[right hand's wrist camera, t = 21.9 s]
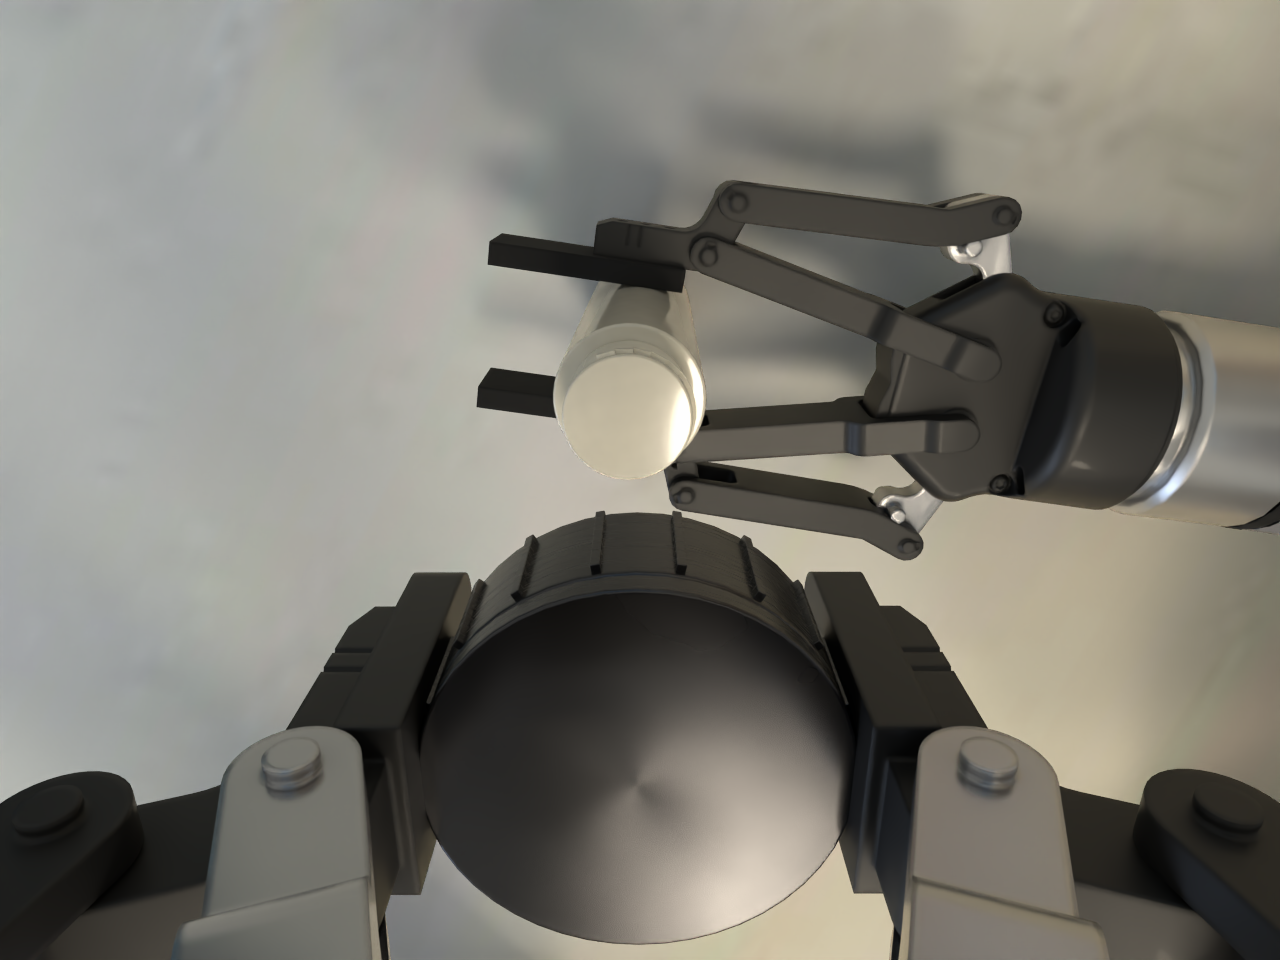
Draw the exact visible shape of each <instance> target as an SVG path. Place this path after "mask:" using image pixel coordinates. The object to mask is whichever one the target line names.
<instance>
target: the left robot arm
mask: <svg viewBox="0 0 1280 960" xmlns="http://www.w3.org/2000/svg"><path fill="white" fill-rule="evenodd" d="M1021 215H1022V210H1021V207H1020V204H1019V203H1018V202H1017V201H1016V200H1015V199H1012V198H1010V197H1004V196H997V195H990V194H984V193H974V194H970V195H966V196H962V197H958V198H953V199H949V200H945V201H941V202H937V203H932V204H928V205H924V204H916V203H908V202H900V201H892V200H884V199H877V198H869V197H861V196H853V195H845V194H837V193H829V192H822V191H814V190H806V189H798V188H790V187H782V186H774V185H766V184H759V183H751V182H743V181H735V180H731V181H725V182H723V183H722V184H720V185H719V186H718V188H717V189H716V191H715V194H714V197H713V199H712V201H711V202H710V204H709V206H708V208H707V210H706V212H705V213H704V215H703V217H702V218H701V220H700V221H699V222H697V223H696V224H695V225H693V226H691V227H687V228H678V227H672V226H665V225H659V224H652V223H645V222H639V221H632V220H626V219H619V218H610V219H606V220H602V221H598V223H597V226H596V234H595V242H594V247H590V246H583V245H577V244H570V243H563V242H557V241H550V240H543V239H537V238H530V237H523V236H517V235H510V234H503V233H502V234H500V235H499V236H497V237H496V238H494V239H492V240H491V241H490V242H489V255H488V265H494V266H501V267H507V268H514V269H521V270H528V271H535V272H541V273H548V274H555V275H562V276H568V277H575V278H582V279H589V280H596V281H602V282H609V283H616V284H623V285H629V286H636V287H643V288H650V289H657V290H663V291H670V292H677V293H682V291H683V285H684V279H685V272H686V270H693V271H699V272H700V273H702V274H704V275H707V276H709V277H712V278H715V279H717V280H720V281H722V282H725V283H728V284H730V285H733V286H735V287H738V288H741V289H743V290H746V291H748V292H751V293H754V294H756V295H759V296H761V297H764V298H767V299H769V300H772V301H774V302H777V303H780V304H782V305H785V306H787V307H790V308H792V309H795V310H798V311H800V312H803V313H805V314H808V315H811V316H813V317H816V318H818V319H821V320H824V321H826V322H829V323H831V324H834V325H837V326H839V327H842V328H844V329H847V330H850V331H852V332H855V333H857V334H860V335H863V336H865V337H867V338H870V339H872V340H874V341H875V342H877V346H876V371H875V373H874V375H873V376H872V378H871V380H870V382H869V384H868V386H867V388H866V390H865V394H864V396H854V397H843V398H838V399H837V400H835V401H833V402H822V403H807V404H792V405H778V406H763V407H748V408H733V409H718V410H705V414H704V418H703V421H702V424H701V426H700V428H699V430H698V432H697V434H696V436H695V437H694V439H693V440H692V442H691V443H690V444H689V445H688V446H687V447H686V449H685V450H683V451H682V453H681V454H680V456H679V457H678V458H677V459H676V460H675V461H674V462H673V463H672V464H671V465H669V466H668V467H667V468H665V469H664V472H665V477H666V482H667V486H668V491H669V498H670V501H671V503H672V505H673V506H674V507H675V508H677V509H679V510H682V511H688V512H694V513H701V514H707V515H713V516H720V517H726V518H732V519H739V520H745V521H751V522H758V523H764V524H771V525H777V526H783V527H790V528H796V529H802V530H809V531H815V532H821V533H828V534H834V535H840V536H847V537H853V538H859V539H863V540H865V541H867V542H869V543H870V544H872V545H874V546H876V547H878V548H880V549H881V550H883V551H885V552H887V553H889V554H891V555H892V556H894V557H896V558H898V559H901V560H911V559H914V558H916V557H917V556H918V555H919V554H920V553H921V551H922V549H923V540H922V538H921V536H920V535H919V532H920V531H921V530H922V528H923V527H924V526H925V524H926V523H927V522H928V520H929V519H930V518H931V517H932V515H933V514H934V513H935V511H936V510H937V509H938V507H939V506H940V505H941V503H942V502H943V501H948V502H953V501H959V500H963V499H965V498H968V497H971V496H975V495H981V494H992V495H997V496H1003V497H1008V498H1013V499H1021V500H1028V501H1035V502H1043V503H1050V504H1057V505H1065V506H1072V507H1079V508H1086V509H1094V510H1096V509H1106V508H1109V509H1111V510H1113V511H1116V512H1119V513H1122V514H1125V515H1134V516H1142V517H1150V518H1159V519H1167V520H1176V521H1184V522H1192V523H1201V524H1209V525H1217V526H1222V527H1226V528H1233V529H1240V530H1242V529H1245V530H1251V531H1258V532H1264V533H1271V534H1277V535H1280V328H1276V327H1270V326H1263V325H1257V324H1251V323H1244V322H1238V321H1231V320H1225V319H1219V318H1212V317H1206V316H1200V315H1193V314H1187V313H1181V312H1173V311H1160V312H1156V313H1155V312H1153V311H1152V310H1150V309H1148V308H1146V307H1142V306H1137V305H1130V304H1123V303H1117V302H1110V301H1103V300H1097V299H1090V298H1083V297H1077V296H1070V295H1063V294H1057V293H1050V292H1044V291H1040V290H1038V289H1036V288H1035V287H1034V286H1032V285H1031V284H1030V283H1029V282H1028V281H1027V280H1026V279H1025V278H1023V277H1021V276H1019V275H1017V274H1013V273H1012V260H1011V246H1010V232H1012V231H1013V230H1014V229H1015V228H1016V227H1017V226H1018V224H1019V222H1020V220H1021ZM745 223H747V224H755V225H763V226H771V227H779V228H787V229H795V230H803V231H811V232H819V233H827V234H835V235H843V236H851V237H859V238H867V239H875V240H883V241H891V242H899V243H907V244H915V245H923V246H937V247H940V250H941V252H942V254H943V256H945V257H946V258H947V259H950V260H952V261H955V262H958V263H960V264H969V265H970V266H971V268H972V269H973V273H974V275H973V276H971V277H969V278H967V279H965V280H963V281H961V282H959V283H957V284H955V285H953V286H951V287H949V288H947V289H945V290H943V291H941V292H938V293H936V294H934V295H932V296H930V297H928V298H926V299H924V300H922V301H920V302H918V303H916V304H914V305H912V306H910V307H908V308H905V307H903V306H900V305H898V304H895V303H893V302H890V301H887V300H885V299H882V298H880V297H877V296H875V295H872V294H868V293H865V292H862V291H860V290H857V289H855V288H852V287H850V286H847V285H844V284H842V283H839V282H837V281H834V280H832V279H829V278H827V277H824V276H822V275H819V274H816V273H814V272H811V271H809V270H806V269H804V268H801V267H799V266H796V265H794V264H791V263H788V262H786V261H783V260H781V259H778V258H776V257H773V256H771V255H768V254H766V253H763V252H760V251H758V250H755V249H753V248H750V247H748V246H745V245H743V244H740V243H738V242H735V240H736V238H737V237H738V235H739V233H740V231H741V230H742V228H743V226H744V224H745ZM685 269H686V270H685ZM555 378H556V377H554V376H547V375H540V374H533V373H525V372H518V371H511V370H504V369H497V368H490V370H489V371H488V373H487V374H486V376H485V377H484V379H483V380H482V382H481V383H480V385H479V386H478V396H477V407H480V408H487V409H494V410H501V411H509V412H516V413H523V414H530V415H538V416H545V417H552V418H556V415H555V411H554V404H553V389H554V382H555ZM832 453H850V454H853V455H857V456H876V455H891V456H892V457H893V458H894V459H895V460H896V461H897V462H898V463H899V464H900V465H901V466H902V467H903V468H904V469H905V470H906V471H907V472H908V473H909V474H910V475H911V476H912V477H913V478H914V479H915V481H914V482H913V483H912V484H911V485H909V486H907V487H904V488H897V487H892V486H881V487H878V488H877V489H876V490H875V493H874V494H872V493H870V492H868V491H866V490H864V489H861V488H858V487H855V486H851V485H846V484H841V483H835V482H829V481H822V480H816V479H810V478H804V477H798V476H791V475H785V474H779V473H773V472H767V471H760V470H754V469H748V468H742V467H736V466H729V465H723V464H717V463H711V462H710V461H726V460H741V459H756V458H771V457H786V456H801V455H816V454H832Z"/></svg>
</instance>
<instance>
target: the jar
mask: <svg viewBox="0 0 1280 960" xmlns="http://www.w3.org/2000/svg"><path fill="white" fill-rule="evenodd" d="M553 404H554V411H555V415H556V418H557V421H558V424H559V426H560V428H561V430H562V432H563V434H564V435H565V437H566V439H567V441H568V444H569V446H570V447H571V449H572V451H573V452H574V453H575V454H576V456H577V457H578V458H579V459H580V460H581V461H582V462H583V463H584V464H585V465H587V466H588V467H589V468H591V469H592V470H594V471H596V472H598V473H600V474H602V475H605V476H608V477H611V478H616V479H624V480H632V479H641V478H645V477H649V476H651V475H654V474H656V473H658V472H660V471H662V470H664V469H665V468H667V467H668V466H669V465H671V464H672V463H673V462H674V461H675V460H676V459H677V458H678V457H679V456H680V454H681V453H682V451H683V450H685V449H686V447H687V446H688V445H689V444H690V443H691V442H692V440H693V439H694V437H695V436H696V434H697V432H698V430H699V428H700V426H701V424H702V421H703V418H704V414H705V409H706V386H705V381H704V376H703V371H702V365H701V360H700V355H699V350H698V344H697V339H696V334H695V329H694V323H693V318H692V313H691V308H690V302H689V298H688V294H687V291H686V288H685V286H684V285H683V291H682V293H677V292H670V291H663V290H657V289H650V288H643V287H636V286H629V285H623V284H616V283H609V282H602V281H599V282H598V284H597V286H596V288H595V290H594V292H593V295H592V297H591V299H590V301H589V303H588V306H587V308H586V310H585V312H584V314H583V316H582V319H581V321H580V323H579V325H578V327H577V330H576V332H575V334H574V336H573V338H572V340H571V343H570V345H569V347H568V349H567V351H566V353H565V356H564V358H563V360H562V362H561V364H560V367H559V369H558V372H557V374H556V378H555V382H554V389H553Z"/></svg>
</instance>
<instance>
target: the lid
mask: <svg viewBox="0 0 1280 960" xmlns="http://www.w3.org/2000/svg"><path fill="white" fill-rule="evenodd" d="M426 704H427V713H426V717H425V720H424V724H423V727H422V730H421V734H420V739H419V758H420V768H421V776H422V785H423V794H424V802H425V810H426V816H427V819H428V822H429V824H430V827H431V829H432V831H433V833H434V835H435V837H436V838H437V840H438V842H439V844H440V846H441V847H442V849H443V851H444V852H445V853H446V855H447V856H448V857H449V859H450V860H451V861H452V863H453V864H454V865H455V866H456V868H457V869H458V870H459V871H460V872H461V873H462V874H463V875H464V876H465V877H466V878H467V879H468V880H469V881H470V882H471V883H472V884H473V885H474V886H475V887H476V888H478V889H479V890H480V891H481V892H483V893H484V894H485V895H486V896H488V897H489V898H490V899H491V900H493V901H494V902H496V903H497V904H499V905H501V906H502V907H504V908H505V909H507V910H509V911H510V912H512V913H514V914H515V915H517V916H520V917H522V918H524V919H526V920H528V921H530V922H532V923H534V924H536V925H539V926H542V927H544V928H547V929H550V930H553V931H556V932H559V933H561V934H565V935H570V936H574V937H578V938H582V939H586V940H592V941H599V942H606V943H615V944H637V945H641V944H661V943H670V942H677V941H684V940H691V939H695V938H699V937H703V936H707V935H711V934H715V933H718V932H721V931H724V930H726V929H729V928H732V927H735V926H737V925H740V924H742V923H744V922H746V921H749V920H751V919H753V918H755V917H757V916H759V915H761V914H763V913H765V912H766V911H768V910H769V909H771V908H773V907H774V906H776V905H777V904H779V903H780V902H782V901H784V900H785V899H786V898H788V897H789V896H790V895H791V894H792V893H794V892H795V891H796V890H797V889H799V888H800V887H801V886H802V885H804V884H805V883H806V882H807V880H808V879H809V878H810V877H811V876H812V875H813V874H814V873H815V872H816V871H817V870H818V869H819V868H820V867H821V866H822V864H823V863H824V861H825V860H826V859H827V857H828V856H829V855H830V853H831V852H832V851H833V849H834V848H835V846H836V844H837V842H838V840H839V839H840V837H841V835H842V833H843V831H844V829H845V827H846V825H847V822H848V817H849V811H850V802H851V794H852V785H853V776H854V767H855V758H856V735H855V731H854V728H853V725H852V722H851V718H850V715H849V712H848V701H847V698H846V696H845V693H844V690H843V688H842V685H841V682H840V680H839V677H838V674H837V671H836V669H835V666H834V663H833V661H832V658H831V655H830V653H829V650H828V647H827V644H826V642H825V639H824V637H823V638H821V635H820V632H819V629H818V627H817V624H816V621H815V619H814V616H813V613H812V610H811V608H810V605H809V602H808V599H807V597H806V594H805V591H804V589H803V586H802V584H801V583H800V581H799V580H796V581H795V582H792V581H791V580H790V579H789V577H788V576H787V575H786V574H785V573H784V572H783V571H782V570H781V569H780V568H779V567H778V566H777V565H776V564H775V563H774V562H773V561H772V560H770V559H769V558H768V557H767V556H765V555H764V554H763V553H762V552H761V551H759V550H758V549H756V548H755V547H753V545H752V541H751V539H750V538H749V537H747V536H745V535H744V536H743V537H742V538H741V539H740V538H739V537H737V536H735V535H732V534H730V533H728V532H726V531H724V530H721V529H719V528H717V527H715V526H712V525H709V524H705V523H702V522H699V521H696V520H692V519H689V518H683V517H682V514H681V512H677V511H673V512H672V515H667V514H656V513H638V512H636V513H621V514H609V515H605V511H600V512H596V516H595V517H593V518H588V519H584V520H581V521H577V522H574V523H571V524H568V525H565V526H562V527H559V528H557V529H555V530H553V531H550V532H548V533H546V534H544V535H542V536H540V537H538V538H536V537H535V536H534V535H531V536H529V537H528V538H526V541H525V544H524V546H523V547H522V548H520V549H519V550H517V551H516V552H514V553H513V554H512V555H511V556H510V557H509V558H507V559H506V560H505V561H504V562H503V563H501V564H500V565H499V566H498V567H497V568H496V569H495V570H494V571H493V572H492V574H491V575H490V576H489V577H488V578H487V579H486V580H485V581H482V580H480V579H478V581H477V582H476V583H475V585H474V588H473V590H472V593H471V596H470V598H469V601H468V603H467V606H466V609H465V611H464V614H463V617H462V619H461V622H460V625H459V627H458V630H457V633H456V635H455V637H453V636H452V637H451V639H450V642H449V644H448V647H447V650H446V652H445V655H444V658H443V660H442V663H441V665H440V668H439V671H438V673H437V676H436V679H435V681H434V684H433V686H432V689H431V692H430V694H429V697H428V700H427V702H426Z"/></svg>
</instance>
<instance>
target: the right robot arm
mask: <svg viewBox="0 0 1280 960" xmlns="http://www.w3.org/2000/svg"><path fill="white" fill-rule="evenodd" d="M804 591H805V594H806V597H807V599H808V602H809V605H810V608H811V610H812V613H813V616H814V619H815V621H816V624H817V627H818V629H819V632H820V635H821V638H823V637H824V639H825V642H826V644H827V647H828V650H829V653H830V655H831V658H832V661H833V663H834V666H835V669H836V671H837V674H838V677H839V680H840V682H841V685H842V688H843V690H844V693H845V696H846V698H847V701H848V712H849V715H850V718H851V722H852V725H853V728H854V731H855V735H856V758H855V767H854V776H853V785H852V794H851V802H850V811H849V817H848V822H847V825H846V827H845V829H844V831H843V833H842V835H841V837H840V839H839V843H840V846H841V850H842V853H843V857H844V860H845V864H846V867H847V871H848V874H849V878H850V881H851V885H852V888H853V892H854V893H883V894H884V897H885V900H886V903H887V907H888V910H889V913H890V916H891V919H892V922H893V930H892V937H891V945H890V956H889V960H1280V803H1278V802H1277V801H1275V800H1274V799H1273V798H1271V797H1270V796H1268V795H1266V794H1264V793H1263V792H1261V791H1259V790H1257V789H1255V788H1253V787H1251V786H1249V785H1247V784H1245V783H1243V782H1240V781H1237V780H1235V779H1232V778H1229V777H1226V776H1223V775H1219V774H1216V773H1212V772H1207V771H1202V770H1193V769H1173V770H1167V771H1163V772H1160V773H1158V774H1156V775H1154V776H1152V777H1151V778H1150V779H1149V780H1148V781H1147V783H1146V785H1145V788H1144V791H1143V795H1142V798H1141V802H1140V805H1137V804H1133V803H1128V802H1124V801H1119V800H1114V799H1110V798H1105V797H1101V796H1096V795H1092V794H1087V793H1082V792H1078V791H1075V790H1071V789H1067V788H1064V787H1061V786H1059V782H1058V778H1057V775H1056V773H1055V771H1054V769H1053V768H1052V766H1051V765H1050V764H1049V762H1048V761H1047V760H1046V759H1045V758H1044V757H1043V756H1042V755H1041V754H1040V753H1039V752H1037V751H1036V750H1035V749H1033V748H1032V747H1030V746H1029V745H1027V744H1025V743H1024V742H1022V741H1020V740H1018V739H1016V738H1014V737H1012V736H1010V735H1007V734H1004V733H1001V732H998V731H995V730H991V729H988V728H987V726H986V724H985V723H984V721H983V719H982V718H981V716H980V714H979V713H978V711H977V709H976V708H975V706H974V704H973V703H972V701H971V699H970V698H969V696H968V694H967V693H966V691H965V689H964V687H963V686H962V684H961V682H960V681H959V679H958V677H957V676H956V674H955V672H954V671H951V666H950V664H949V662H948V661H947V659H946V657H945V656H944V654H943V652H940V647H939V646H938V644H937V642H936V641H935V639H934V637H933V636H932V634H931V632H930V630H929V629H928V627H927V625H925V624H924V623H923V622H921V621H920V620H919V619H917V618H916V617H914V616H913V615H912V614H910V613H909V612H908V611H906V610H905V609H904V608H902V607H901V606H879V604H878V602H877V600H876V598H875V596H874V594H873V592H872V590H871V588H870V587H869V585H868V583H867V581H866V579H865V577H864V575H863V574H862V573H861V572H809V573H808V574H807V577H806V581H805V589H804ZM471 593H472V592H471V584H470V579H469V576H468V574H467V573H414V574H413V575H412V577H411V578H410V580H409V582H408V584H407V586H406V588H405V590H404V592H403V594H402V595H401V597H400V599H399V601H398V603H397V605H396V607H374V608H373V609H371V610H370V611H369V612H367V613H366V614H365V615H363V616H362V617H360V618H359V619H358V620H356V621H355V622H354V623H352V624H351V625H350V626H349V627H348V628H347V630H346V631H345V633H344V635H343V636H342V638H341V640H340V641H339V643H338V645H337V646H336V648H335V653H332V655H331V656H330V658H329V660H328V661H327V663H326V664H325V666H324V672H321V673H320V674H319V676H318V678H317V679H316V681H315V683H314V684H313V686H312V688H311V689H310V691H309V693H308V694H307V696H306V697H305V699H304V701H303V702H302V704H301V706H300V707H299V709H298V711H297V712H296V714H295V716H294V717H293V719H292V721H291V722H290V724H289V726H288V727H287V729H286V730H285V731H282V732H279V733H276V734H273V735H270V736H268V737H266V738H264V739H262V740H260V741H258V742H256V743H254V744H253V745H251V746H250V747H248V748H247V749H245V750H244V751H243V752H241V753H240V754H239V755H238V756H237V757H236V758H235V759H234V760H233V761H232V762H231V764H230V765H229V766H228V768H227V769H226V771H225V773H224V775H223V778H222V782H221V785H219V786H216V787H213V788H210V789H208V790H204V791H200V792H196V793H193V794H188V795H184V796H179V797H174V798H170V799H165V800H161V801H156V802H152V803H147V804H142V805H138V806H137V804H136V801H135V797H134V793H133V790H132V788H131V785H130V784H129V783H128V782H127V781H126V780H125V779H124V778H122V777H120V776H119V775H116V774H112V773H108V772H100V771H87V772H78V773H72V774H67V775H62V776H59V777H55V778H52V779H49V780H46V781H43V782H41V783H38V784H35V785H33V786H31V787H29V788H27V789H24V790H22V791H20V792H18V793H17V794H15V795H13V796H11V797H10V798H8V799H6V800H5V801H3V802H2V803H0V960H391V956H390V945H389V937H388V930H387V923H386V916H385V911H386V908H387V905H388V902H389V899H390V896H391V895H421V891H422V888H423V884H424V881H425V878H426V874H427V871H428V867H429V864H430V860H431V857H432V854H433V850H434V847H435V843H436V840H437V838H436V837H435V835H434V833H433V831H432V829H431V827H430V824H429V822H428V819H427V816H426V810H425V802H424V794H423V785H422V776H421V768H420V758H419V739H420V734H421V730H422V727H423V724H424V720H425V717H426V713H427V704H426V702H427V700H428V697H429V694H430V692H431V689H432V686H433V684H434V681H435V679H436V676H437V673H438V671H439V668H440V665H441V663H442V660H443V658H444V655H445V652H446V650H447V647H448V644H449V642H450V639H451V637H452V636H453V637H455V635H456V633H457V630H458V627H459V625H460V622H461V619H462V617H463V614H464V611H465V609H466V606H467V603H468V601H469V598H470V596H471Z"/></svg>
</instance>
